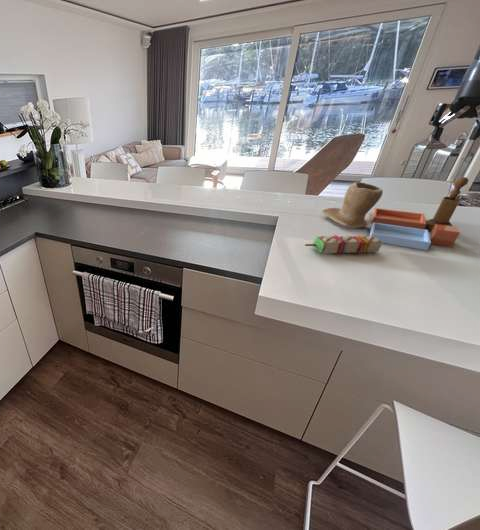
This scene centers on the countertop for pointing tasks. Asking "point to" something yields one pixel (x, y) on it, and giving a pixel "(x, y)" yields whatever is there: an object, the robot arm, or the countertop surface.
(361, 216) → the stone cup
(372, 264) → the countertop surface
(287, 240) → the countertop surface
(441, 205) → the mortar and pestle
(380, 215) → the terracotta tray
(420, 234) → the light blue tray
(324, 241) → the skewer
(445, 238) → the terracotta block
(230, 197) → the countertop surface
